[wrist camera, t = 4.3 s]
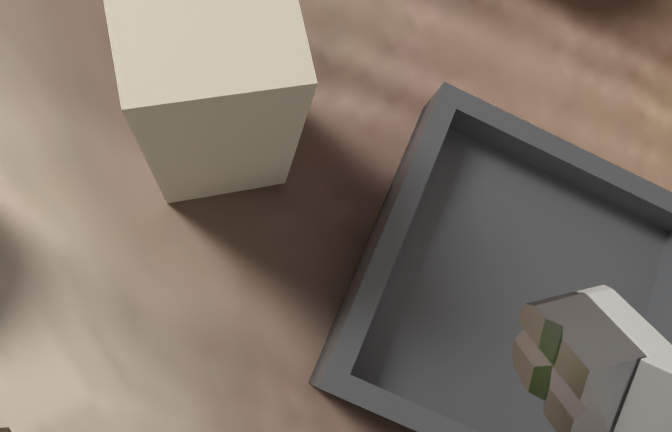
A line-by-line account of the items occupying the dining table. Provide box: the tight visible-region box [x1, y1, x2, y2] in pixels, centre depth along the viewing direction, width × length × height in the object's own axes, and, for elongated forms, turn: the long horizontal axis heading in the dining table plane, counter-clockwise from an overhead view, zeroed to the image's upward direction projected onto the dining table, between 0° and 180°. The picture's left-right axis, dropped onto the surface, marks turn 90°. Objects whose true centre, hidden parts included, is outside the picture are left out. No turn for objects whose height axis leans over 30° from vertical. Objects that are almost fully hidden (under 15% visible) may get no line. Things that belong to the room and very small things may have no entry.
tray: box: [309, 82, 672, 432], centre depth 22 cm, size 12×12×2 cm
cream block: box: [103, 0, 317, 204], centre depth 18 cm, size 4×4×9 cm
